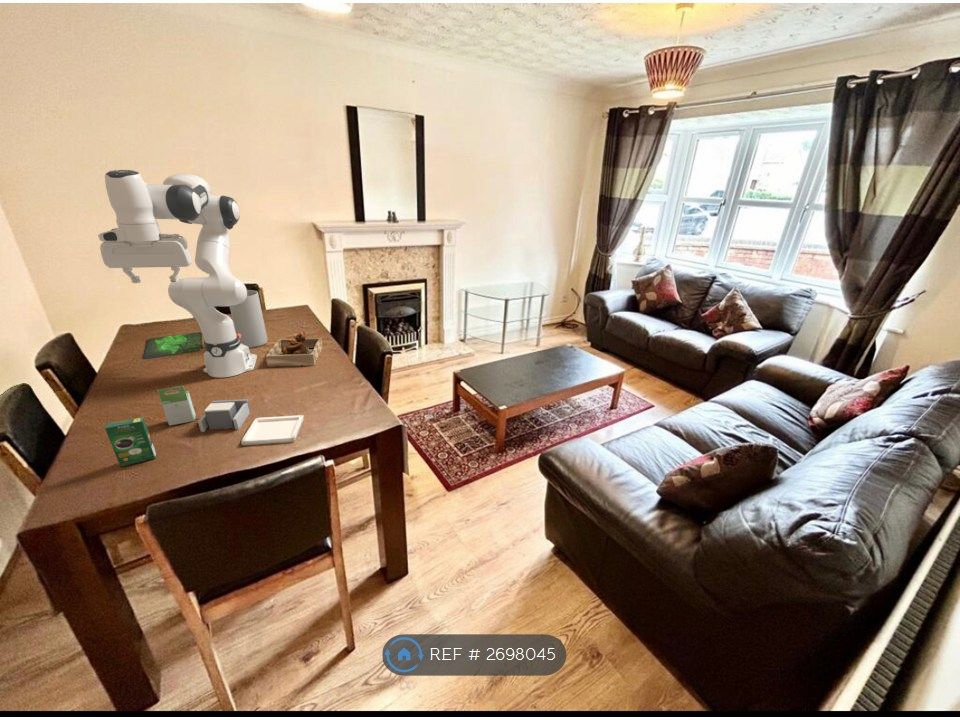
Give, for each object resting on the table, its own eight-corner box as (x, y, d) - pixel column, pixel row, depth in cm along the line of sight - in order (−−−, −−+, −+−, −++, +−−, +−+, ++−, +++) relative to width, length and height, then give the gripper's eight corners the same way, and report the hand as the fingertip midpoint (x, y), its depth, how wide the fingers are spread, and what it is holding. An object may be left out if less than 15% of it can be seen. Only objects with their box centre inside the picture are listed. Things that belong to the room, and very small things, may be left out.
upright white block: (215, 421, 128) (210, 403, 125) (238, 420, 129) (234, 402, 126) (209, 429, 124) (204, 410, 121) (233, 427, 125) (228, 409, 122)
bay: (216, 413, 132) (212, 400, 130) (250, 411, 134) (247, 398, 132) (201, 431, 122) (196, 418, 120) (238, 429, 124) (235, 416, 122)
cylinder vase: (258, 337, 196) (248, 288, 185) (273, 342, 190) (263, 293, 180) (233, 344, 186) (221, 294, 176) (248, 350, 180) (236, 298, 170)
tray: (256, 421, 129) (255, 417, 128) (304, 418, 131) (303, 415, 131) (242, 445, 117) (241, 441, 116) (294, 441, 120) (293, 437, 119)
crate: (280, 348, 184) (279, 339, 182) (322, 347, 187) (321, 337, 185) (267, 366, 166) (265, 356, 164) (314, 365, 169) (312, 354, 167)
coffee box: (158, 453, 112) (143, 415, 107) (156, 458, 110) (142, 420, 105) (122, 461, 109) (105, 422, 103) (120, 467, 106) (102, 428, 101)
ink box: (196, 415, 131) (185, 380, 125) (195, 421, 127) (183, 386, 122) (171, 420, 128) (159, 384, 122) (169, 426, 124) (156, 390, 119)
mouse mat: (202, 351, 178) (202, 349, 178) (142, 360, 167) (141, 358, 166) (201, 333, 199) (201, 331, 198) (147, 340, 187) (146, 338, 187)
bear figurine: (290, 350, 183) (286, 326, 178) (319, 353, 181) (316, 329, 176) (272, 361, 171) (266, 336, 166) (303, 365, 169) (298, 339, 164)
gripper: (188, 232, 115) (200, 278, 120) (103, 232, 108) (119, 280, 114) (180, 235, 109) (193, 283, 115) (90, 234, 103) (108, 285, 109)
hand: (156, 282), depth 114 cm, fingers open, 8 cm apart
